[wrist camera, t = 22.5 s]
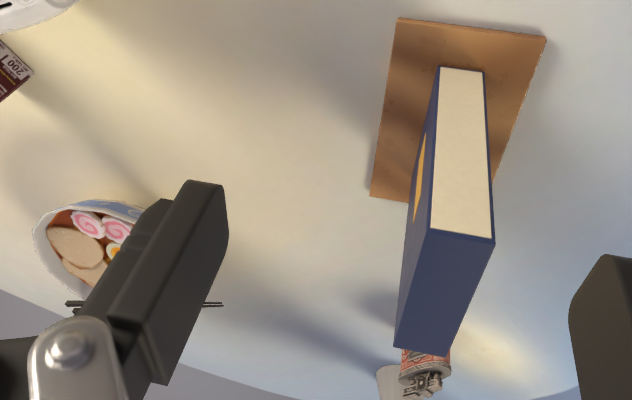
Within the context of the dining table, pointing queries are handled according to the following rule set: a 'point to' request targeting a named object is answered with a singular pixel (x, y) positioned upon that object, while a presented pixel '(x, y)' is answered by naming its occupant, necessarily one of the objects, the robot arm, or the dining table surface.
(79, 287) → the ramen bowl
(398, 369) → the lava lamp
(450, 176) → the book
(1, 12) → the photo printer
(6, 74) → the supplement box
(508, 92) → the cork mat
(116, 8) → the dining table surface
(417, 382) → the lighter
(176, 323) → the robot arm
